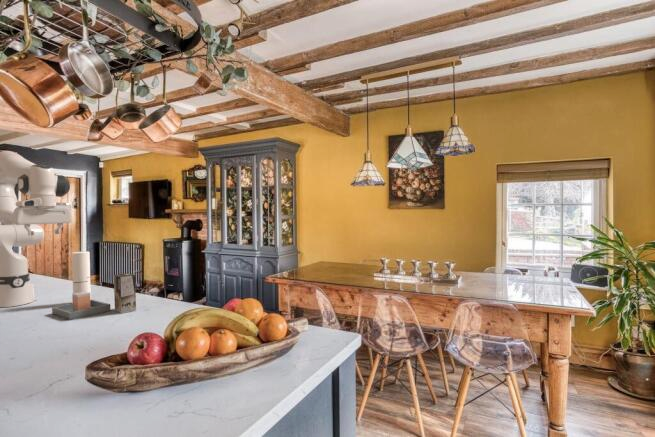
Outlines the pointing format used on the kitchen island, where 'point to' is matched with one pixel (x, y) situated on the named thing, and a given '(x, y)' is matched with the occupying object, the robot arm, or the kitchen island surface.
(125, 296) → the coffee box
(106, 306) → the tray
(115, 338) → the kitchen island surface
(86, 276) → the cylindrical container
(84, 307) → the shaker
